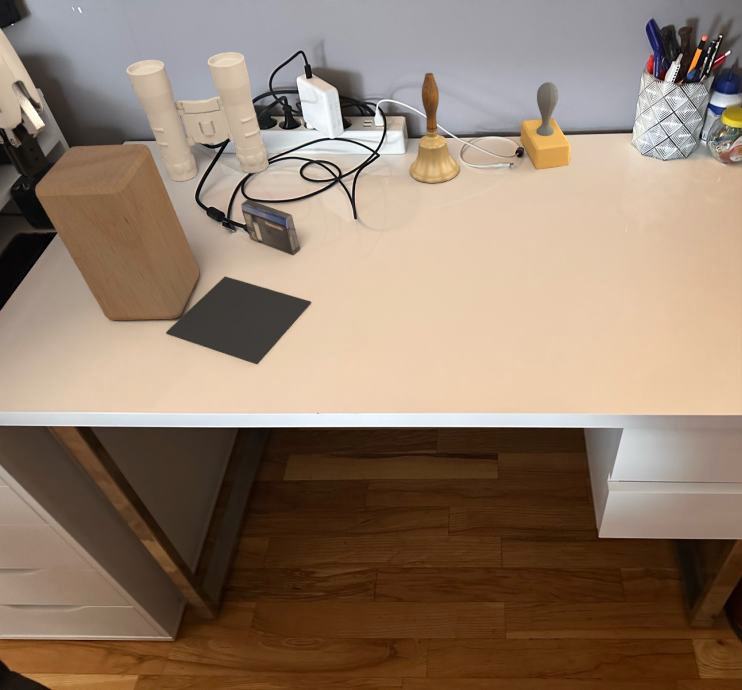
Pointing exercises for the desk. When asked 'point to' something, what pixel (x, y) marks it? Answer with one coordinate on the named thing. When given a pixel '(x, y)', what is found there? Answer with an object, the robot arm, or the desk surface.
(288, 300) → the mat
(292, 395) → the desk surface
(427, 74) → the hand bell
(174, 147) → the binoculars
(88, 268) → the block
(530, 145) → the rubber stamp
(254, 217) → the mini dv tape
